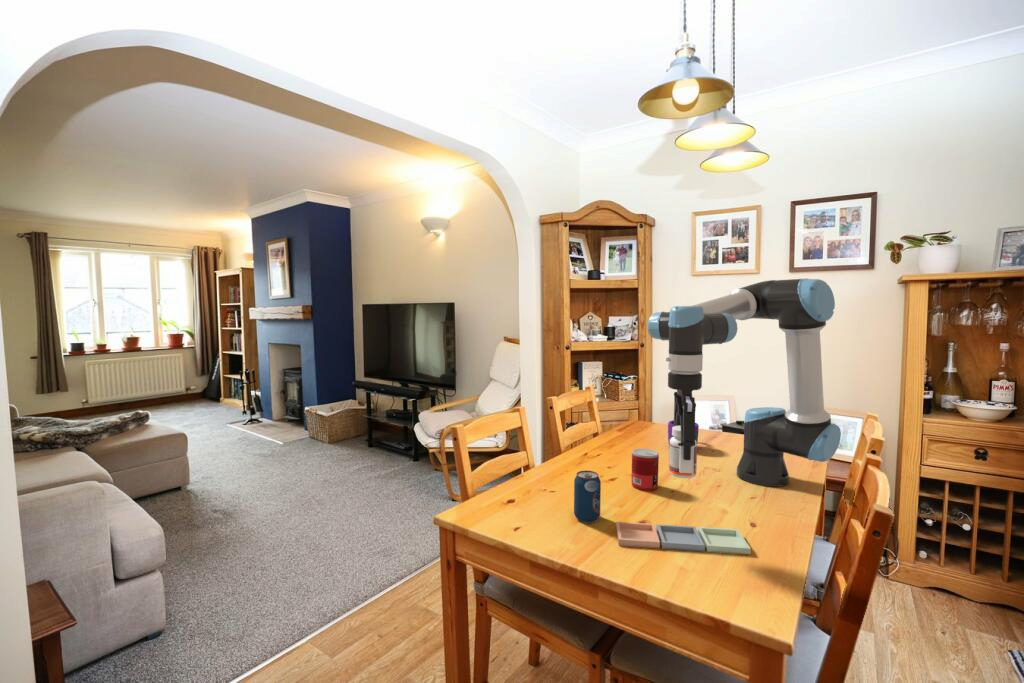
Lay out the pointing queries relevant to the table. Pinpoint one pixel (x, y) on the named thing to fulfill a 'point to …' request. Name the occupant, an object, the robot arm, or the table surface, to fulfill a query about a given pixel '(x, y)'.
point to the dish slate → (680, 537)
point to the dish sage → (723, 540)
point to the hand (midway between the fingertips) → (682, 467)
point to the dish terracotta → (637, 535)
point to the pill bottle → (675, 455)
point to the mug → (671, 424)
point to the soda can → (587, 496)
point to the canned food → (645, 469)
